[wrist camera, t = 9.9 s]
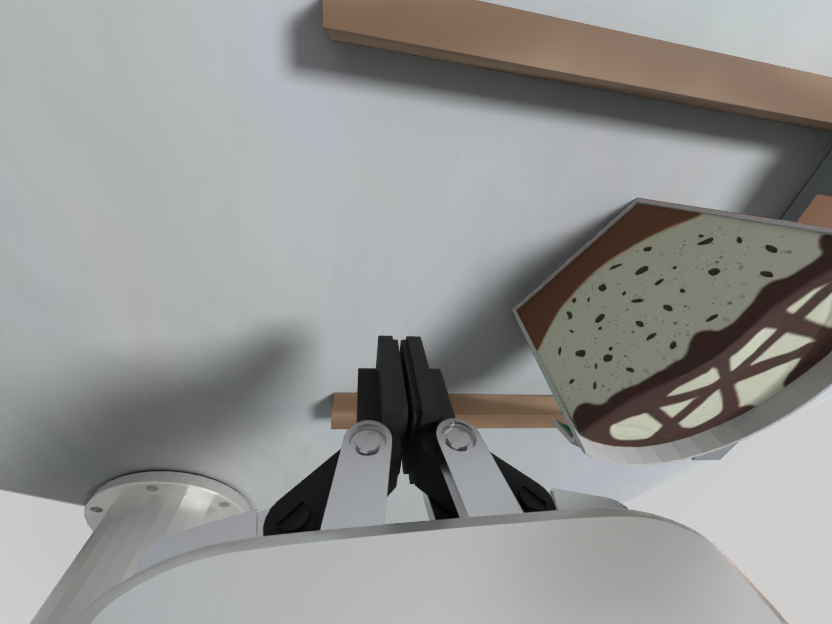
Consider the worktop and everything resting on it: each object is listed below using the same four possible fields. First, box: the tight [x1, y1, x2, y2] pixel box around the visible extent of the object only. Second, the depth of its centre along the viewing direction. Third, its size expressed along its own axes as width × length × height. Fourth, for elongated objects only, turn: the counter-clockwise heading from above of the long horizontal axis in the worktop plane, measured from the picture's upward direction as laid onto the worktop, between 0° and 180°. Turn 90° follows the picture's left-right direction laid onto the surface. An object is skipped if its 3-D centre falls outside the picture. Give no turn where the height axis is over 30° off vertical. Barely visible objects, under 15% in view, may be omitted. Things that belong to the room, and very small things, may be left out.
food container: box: [512, 198, 832, 466], centre depth 16 cm, size 12×6×10 cm, turn 139°
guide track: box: [322, 0, 832, 429], centre depth 19 cm, size 23×27×2 cm
